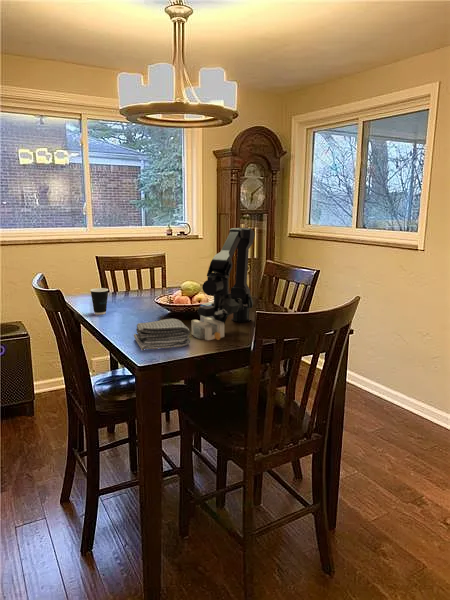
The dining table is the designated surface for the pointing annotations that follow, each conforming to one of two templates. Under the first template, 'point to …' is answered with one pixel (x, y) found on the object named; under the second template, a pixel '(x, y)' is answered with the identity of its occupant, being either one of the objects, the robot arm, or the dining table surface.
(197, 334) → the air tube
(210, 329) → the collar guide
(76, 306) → the dining table surface
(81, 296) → the dining table surface
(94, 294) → the dixie cup
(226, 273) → the robot arm
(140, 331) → the towel
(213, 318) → the medicine box
